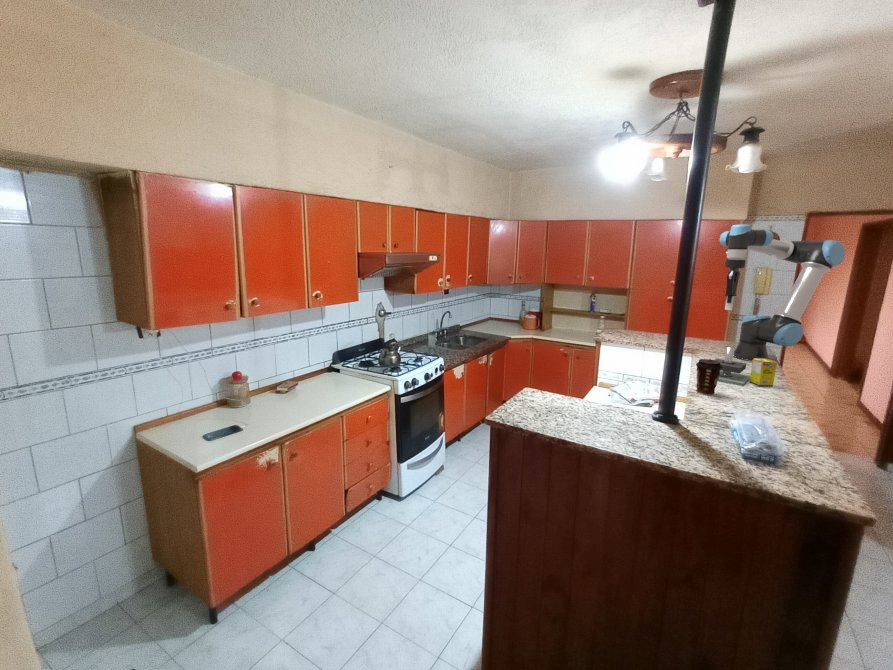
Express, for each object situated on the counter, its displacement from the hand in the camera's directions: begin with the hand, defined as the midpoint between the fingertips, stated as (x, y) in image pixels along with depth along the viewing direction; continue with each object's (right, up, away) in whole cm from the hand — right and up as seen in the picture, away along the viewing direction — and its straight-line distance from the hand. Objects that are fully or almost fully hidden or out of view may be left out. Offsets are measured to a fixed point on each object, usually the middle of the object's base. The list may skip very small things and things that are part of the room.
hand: (728, 309), depth 198 cm
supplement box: (0, -33, -20) cm, 39 cm away
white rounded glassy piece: (-9, -30, -11) cm, 33 cm away
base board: (-9, -31, -11) cm, 34 cm away
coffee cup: (-30, -35, -31) cm, 55 cm away
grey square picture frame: (-9, -27, -12) cm, 31 cm away
